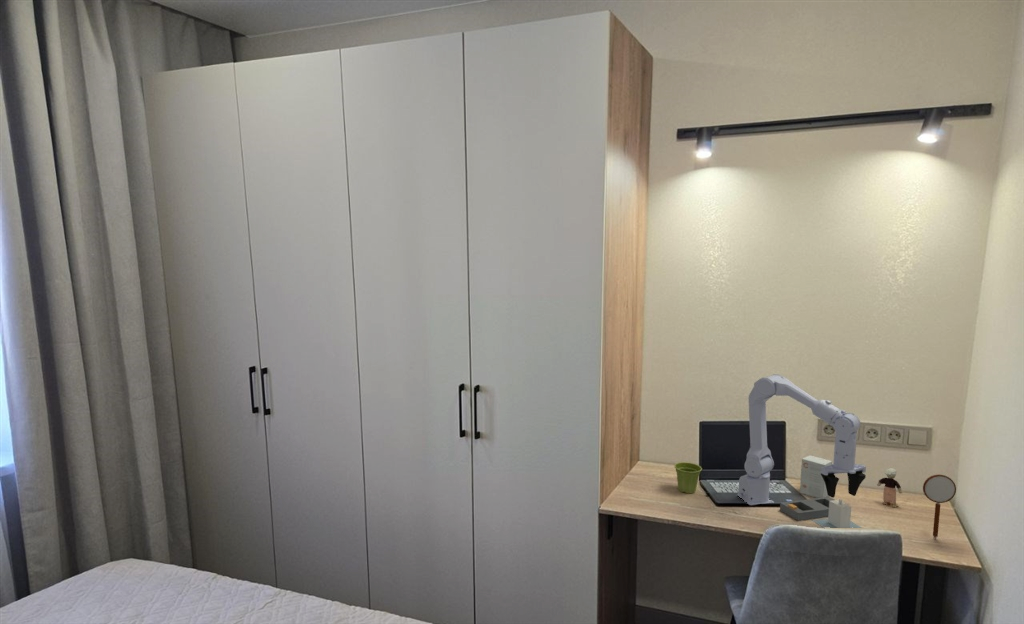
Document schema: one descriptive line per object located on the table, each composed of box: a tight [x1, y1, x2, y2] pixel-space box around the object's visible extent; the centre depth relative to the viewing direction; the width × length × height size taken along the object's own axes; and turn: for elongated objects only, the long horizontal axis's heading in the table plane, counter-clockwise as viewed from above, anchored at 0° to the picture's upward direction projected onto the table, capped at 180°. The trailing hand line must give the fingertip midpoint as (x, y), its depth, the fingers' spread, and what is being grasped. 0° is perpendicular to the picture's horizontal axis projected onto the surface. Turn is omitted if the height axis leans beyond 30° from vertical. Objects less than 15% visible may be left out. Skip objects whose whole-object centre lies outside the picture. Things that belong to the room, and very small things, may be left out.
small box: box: [799, 454, 833, 499], centre depth 208 cm, size 8×6×13 cm
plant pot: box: [674, 462, 703, 494], centre depth 211 cm, size 9×9×9 cm
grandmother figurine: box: [876, 467, 903, 508], centre depth 201 cm, size 8×4×13 cm, turn 47°
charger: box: [827, 498, 852, 528], centre depth 184 cm, size 4×5×8 cm
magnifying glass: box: [922, 474, 957, 540], centre depth 176 cm, size 9×2×20 cm, turn 77°
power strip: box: [779, 496, 836, 522], centre depth 193 cm, size 20×8×4 cm, turn 107°
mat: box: [811, 518, 863, 528], centre depth 184 cm, size 12×10×1 cm
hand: (841, 495), depth 183 cm, fingers open, 7 cm apart
